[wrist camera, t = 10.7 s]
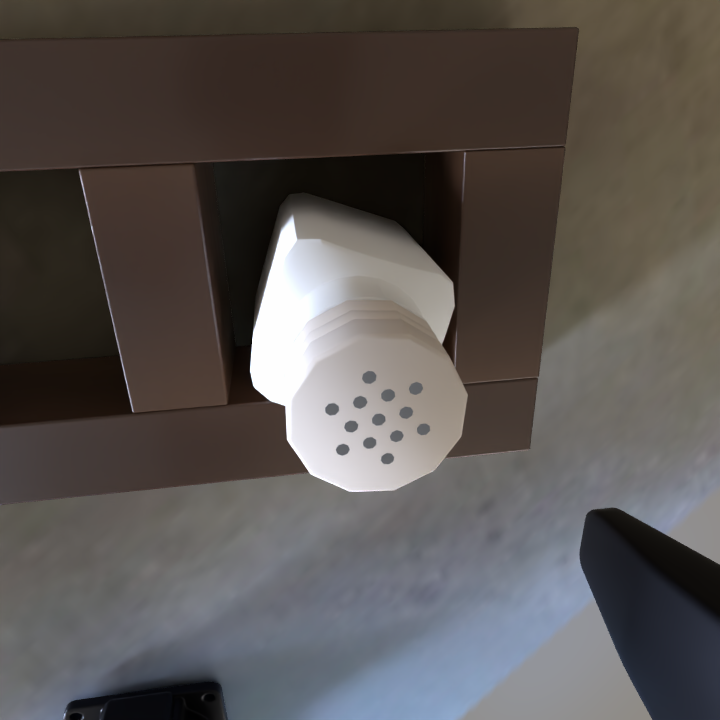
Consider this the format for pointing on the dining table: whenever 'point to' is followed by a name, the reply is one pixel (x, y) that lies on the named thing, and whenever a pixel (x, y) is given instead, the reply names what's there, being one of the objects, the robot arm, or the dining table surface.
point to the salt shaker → (356, 346)
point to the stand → (204, 237)
